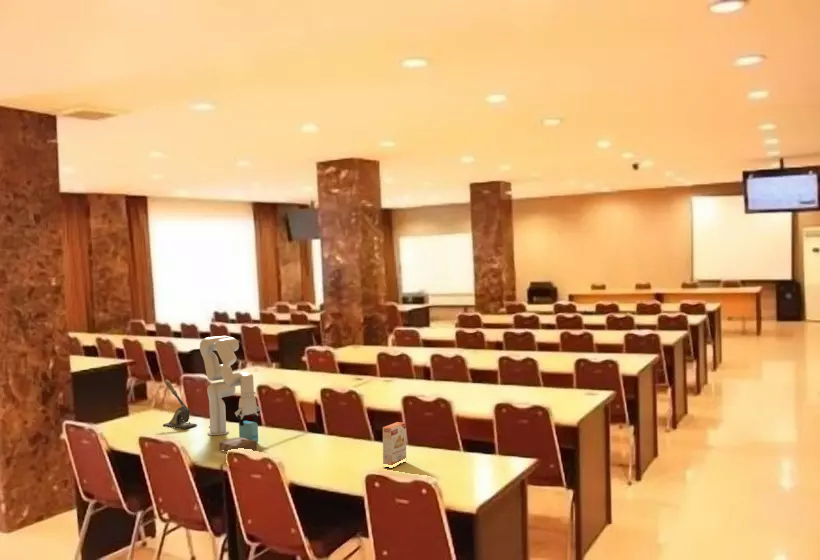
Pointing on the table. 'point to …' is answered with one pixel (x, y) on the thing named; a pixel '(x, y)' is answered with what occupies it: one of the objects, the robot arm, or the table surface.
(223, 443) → the walnut block
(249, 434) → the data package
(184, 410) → the embossing press
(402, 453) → the cracker box
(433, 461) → the table surface
